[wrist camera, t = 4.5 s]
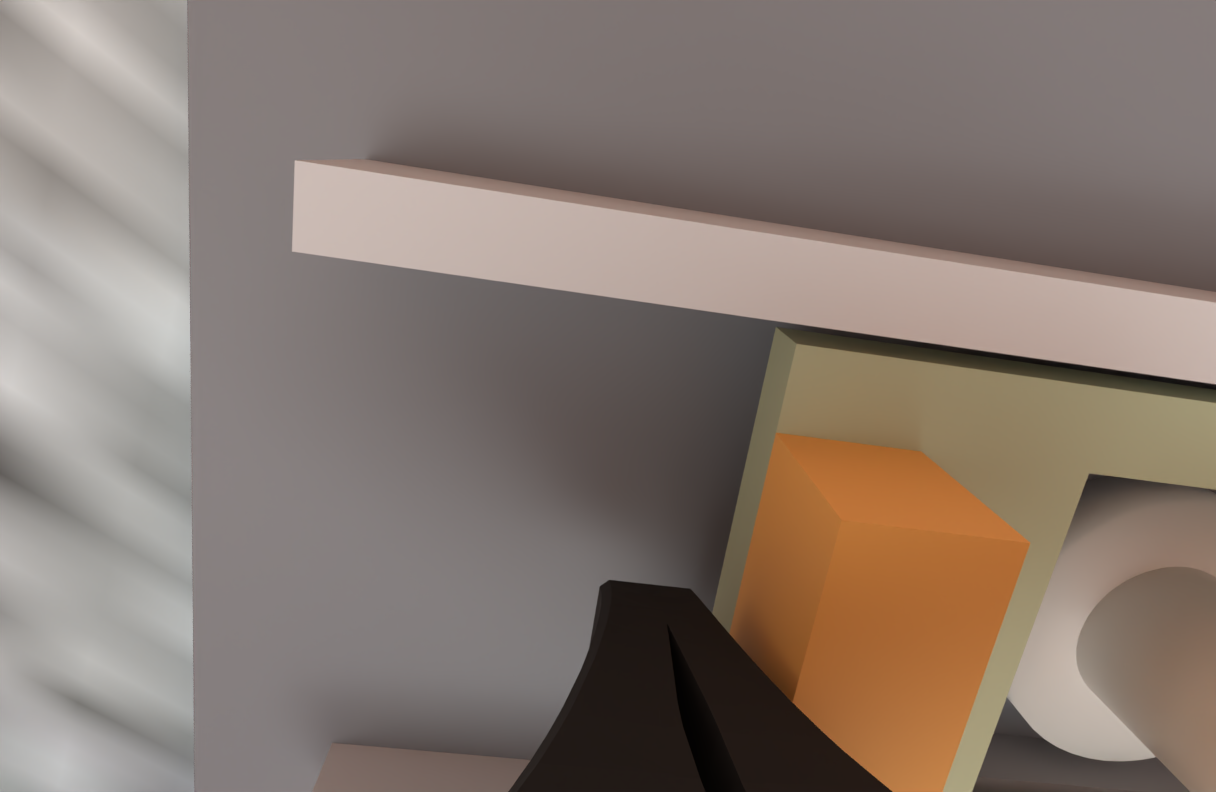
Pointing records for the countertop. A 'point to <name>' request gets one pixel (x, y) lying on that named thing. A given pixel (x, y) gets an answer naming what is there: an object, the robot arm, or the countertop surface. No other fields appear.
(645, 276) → the socket board
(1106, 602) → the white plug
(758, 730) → the robot arm
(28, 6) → the countertop surface
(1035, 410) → the plate
